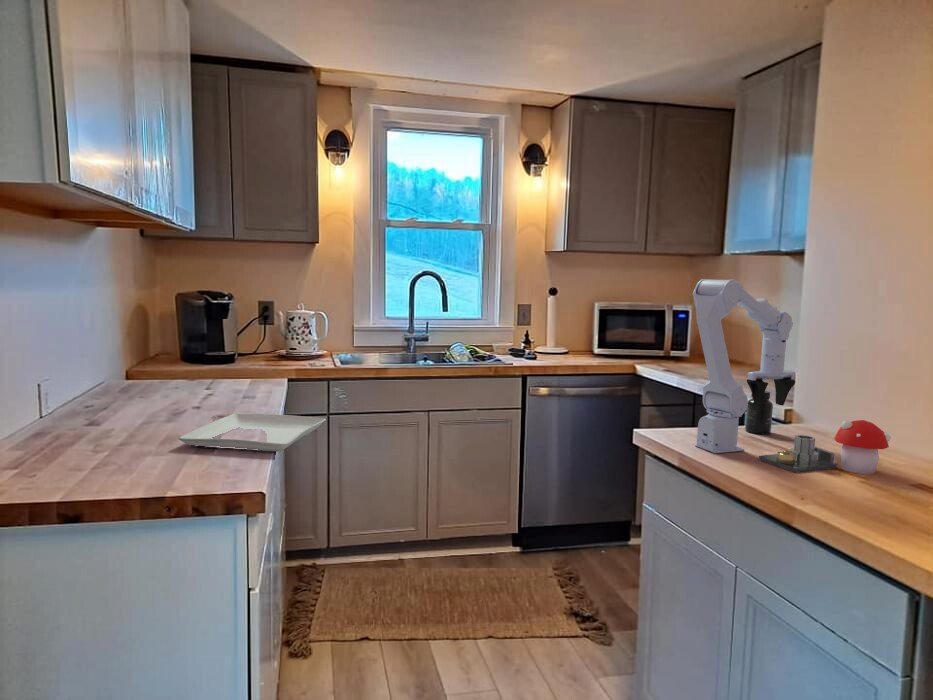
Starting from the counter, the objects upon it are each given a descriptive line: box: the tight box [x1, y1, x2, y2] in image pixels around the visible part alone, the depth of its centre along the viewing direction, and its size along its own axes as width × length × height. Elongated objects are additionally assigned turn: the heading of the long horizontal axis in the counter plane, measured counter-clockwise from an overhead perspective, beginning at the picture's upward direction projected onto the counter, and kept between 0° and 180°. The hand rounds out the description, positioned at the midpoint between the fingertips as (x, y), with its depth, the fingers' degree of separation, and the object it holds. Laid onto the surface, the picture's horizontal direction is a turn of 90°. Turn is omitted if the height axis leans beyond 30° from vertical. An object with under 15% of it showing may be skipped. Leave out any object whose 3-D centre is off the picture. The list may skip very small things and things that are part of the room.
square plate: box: [178, 413, 326, 452], centre depth 161 cm, size 27×27×4 cm
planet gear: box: [789, 434, 818, 463], centre depth 151 cm, size 6×6×6 cm
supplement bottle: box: [744, 390, 774, 435], centre depth 182 cm, size 7×7×12 cm
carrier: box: [758, 446, 837, 473], centre depth 151 cm, size 13×10×4 cm
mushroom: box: [833, 419, 892, 475], centre depth 146 cm, size 11×11×12 cm
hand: (768, 405), depth 171 cm, fingers open, 7 cm apart
